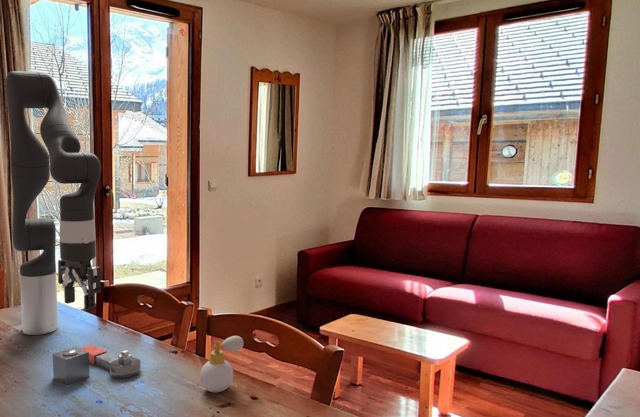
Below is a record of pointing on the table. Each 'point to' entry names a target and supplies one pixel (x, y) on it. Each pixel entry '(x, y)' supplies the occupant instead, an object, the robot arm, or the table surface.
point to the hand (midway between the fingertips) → (79, 306)
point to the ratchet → (114, 362)
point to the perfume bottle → (220, 366)
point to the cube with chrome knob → (70, 365)
